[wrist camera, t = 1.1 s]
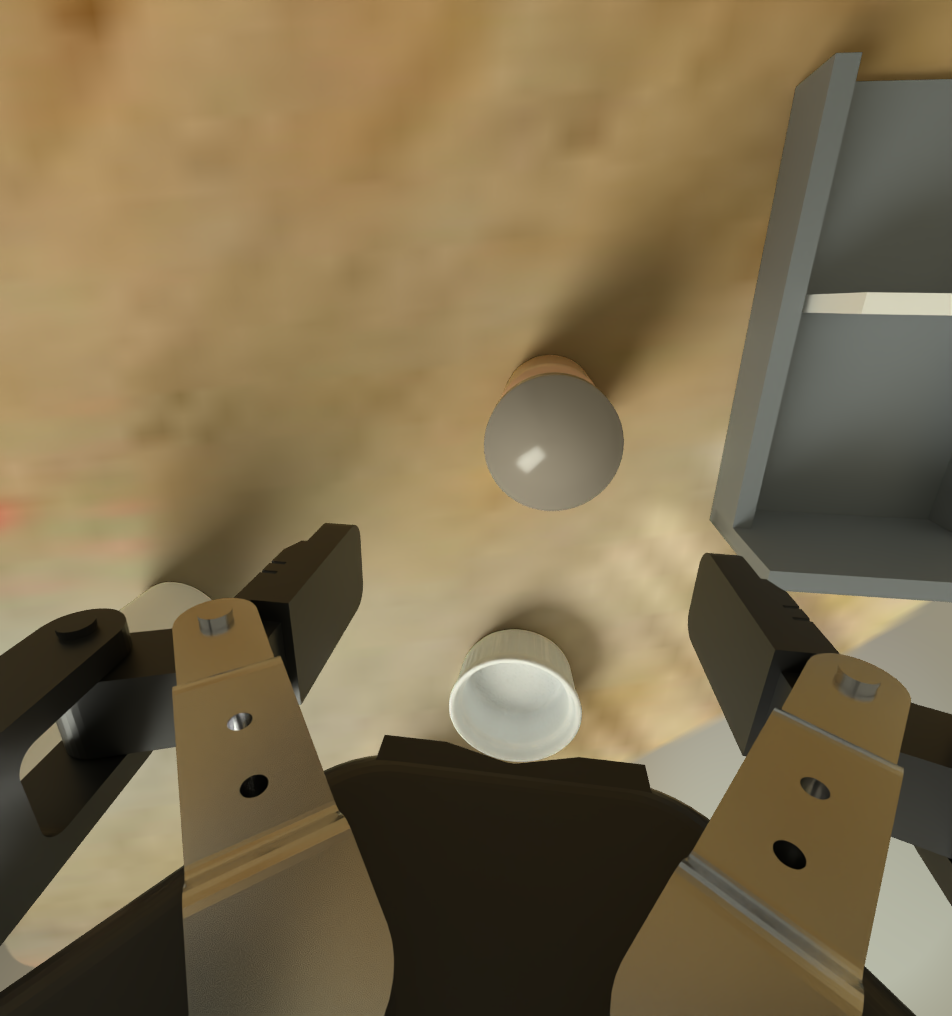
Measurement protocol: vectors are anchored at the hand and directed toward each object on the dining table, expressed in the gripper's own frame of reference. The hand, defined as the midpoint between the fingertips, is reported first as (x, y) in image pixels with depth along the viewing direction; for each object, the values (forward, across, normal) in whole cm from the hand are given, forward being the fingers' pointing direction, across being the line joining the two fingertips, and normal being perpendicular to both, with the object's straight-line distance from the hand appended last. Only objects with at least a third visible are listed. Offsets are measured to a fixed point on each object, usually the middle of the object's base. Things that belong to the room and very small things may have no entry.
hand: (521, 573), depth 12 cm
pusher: (+20, -18, -6) cm, 27 cm away
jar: (+20, -1, 0) cm, 20 cm away
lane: (+20, -18, -5) cm, 27 cm away
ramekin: (+20, 0, +20) cm, 28 cm away
